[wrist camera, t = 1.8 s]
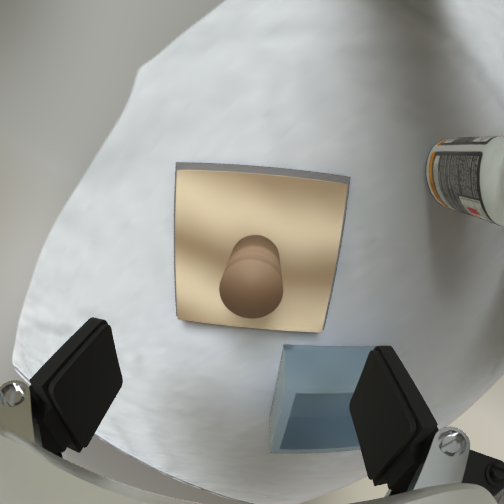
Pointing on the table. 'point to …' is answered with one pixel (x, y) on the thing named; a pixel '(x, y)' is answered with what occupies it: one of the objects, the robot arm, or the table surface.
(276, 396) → the blue square bin
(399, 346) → the table surface
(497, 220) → the pill bottle
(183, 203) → the lid
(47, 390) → the robot arm
